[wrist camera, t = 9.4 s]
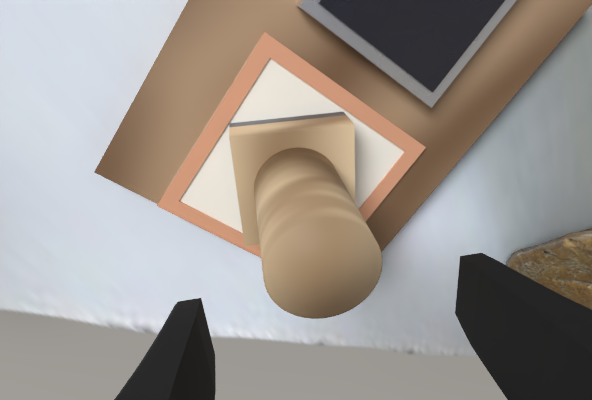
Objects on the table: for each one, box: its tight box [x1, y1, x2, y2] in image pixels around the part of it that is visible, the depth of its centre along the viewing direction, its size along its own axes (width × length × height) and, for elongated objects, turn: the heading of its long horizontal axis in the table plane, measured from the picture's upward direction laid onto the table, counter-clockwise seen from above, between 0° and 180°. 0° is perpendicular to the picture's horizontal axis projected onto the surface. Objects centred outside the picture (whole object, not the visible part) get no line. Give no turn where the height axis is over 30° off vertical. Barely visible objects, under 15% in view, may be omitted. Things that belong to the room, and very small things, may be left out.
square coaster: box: [157, 32, 426, 258], centre depth 20 cm, size 9×9×1 cm
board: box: [95, 0, 592, 252], centre depth 19 cm, size 14×18×1 cm
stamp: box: [229, 112, 382, 318], centre depth 17 cm, size 5×5×8 cm
